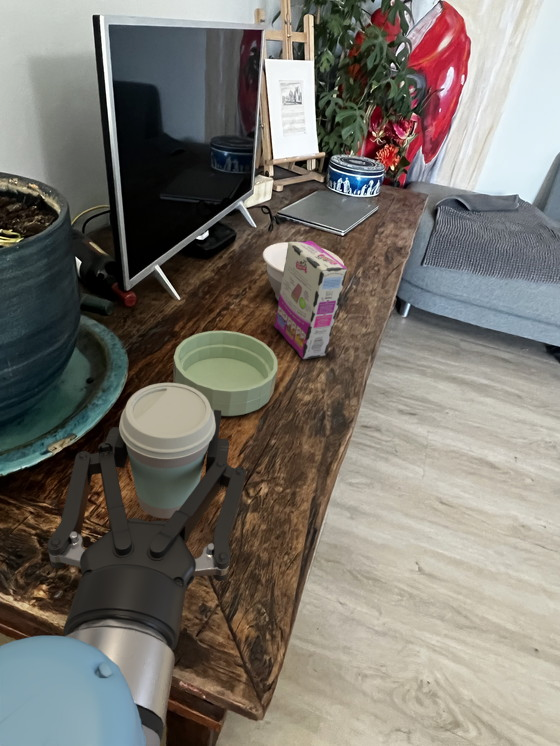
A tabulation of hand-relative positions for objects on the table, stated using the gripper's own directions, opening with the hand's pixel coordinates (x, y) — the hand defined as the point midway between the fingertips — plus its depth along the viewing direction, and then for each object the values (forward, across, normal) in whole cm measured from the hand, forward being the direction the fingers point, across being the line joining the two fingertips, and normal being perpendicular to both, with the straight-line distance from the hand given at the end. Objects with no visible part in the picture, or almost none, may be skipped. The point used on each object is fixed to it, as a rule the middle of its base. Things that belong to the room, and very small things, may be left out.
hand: (176, 415), depth 51 cm
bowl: (+51, +16, -12) cm, 55 cm away
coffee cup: (-5, 0, -7) cm, 9 cm away
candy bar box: (+35, +16, -12) cm, 40 cm away
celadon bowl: (+20, +4, -11) cm, 23 cm away
